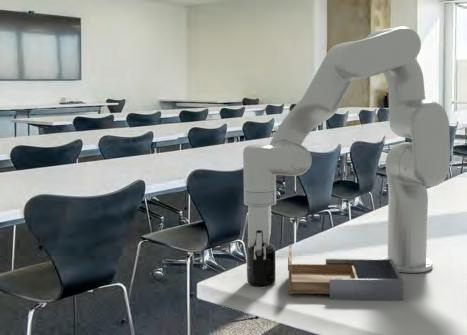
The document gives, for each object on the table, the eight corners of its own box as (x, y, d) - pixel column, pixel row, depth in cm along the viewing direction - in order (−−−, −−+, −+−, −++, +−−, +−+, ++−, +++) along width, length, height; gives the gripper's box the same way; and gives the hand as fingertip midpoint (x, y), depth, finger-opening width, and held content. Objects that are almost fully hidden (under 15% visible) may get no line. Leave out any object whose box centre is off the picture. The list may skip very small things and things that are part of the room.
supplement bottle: (241, 283, 139) (240, 234, 138) (259, 276, 144) (258, 229, 142) (263, 290, 135) (262, 239, 133) (281, 282, 140) (281, 233, 138)
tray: (288, 272, 144) (288, 245, 143) (352, 273, 142) (352, 245, 141) (288, 294, 129) (287, 264, 128) (359, 296, 127) (360, 265, 126)
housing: (325, 276, 143) (325, 258, 142) (391, 277, 141) (392, 258, 141) (329, 299, 128) (329, 279, 127) (403, 300, 126) (403, 280, 126)
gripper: (246, 190, 145) (248, 259, 148) (240, 205, 128) (242, 283, 131) (277, 190, 145) (277, 259, 147) (275, 205, 127) (276, 283, 130)
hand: (261, 270), depth 139 cm, fingers closed on supplement bottle, 6 cm apart
